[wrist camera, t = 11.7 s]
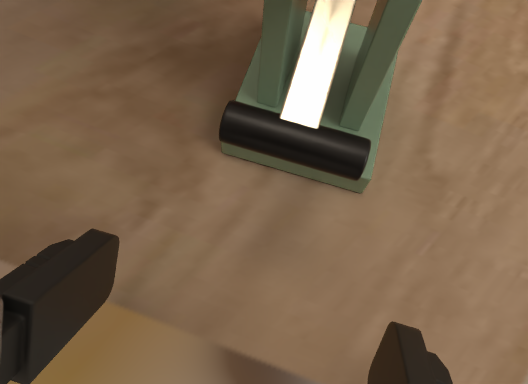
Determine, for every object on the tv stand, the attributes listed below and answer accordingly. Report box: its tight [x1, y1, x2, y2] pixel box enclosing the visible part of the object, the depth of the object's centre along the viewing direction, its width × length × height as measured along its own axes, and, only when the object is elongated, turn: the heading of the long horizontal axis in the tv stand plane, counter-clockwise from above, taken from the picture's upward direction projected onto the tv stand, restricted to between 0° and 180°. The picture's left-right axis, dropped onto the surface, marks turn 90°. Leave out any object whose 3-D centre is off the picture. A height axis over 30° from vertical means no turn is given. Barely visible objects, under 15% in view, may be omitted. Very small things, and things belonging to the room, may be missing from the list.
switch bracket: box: [221, 0, 422, 193], centre depth 17 cm, size 9×7×12 cm
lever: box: [219, 0, 371, 181], centre depth 12 cm, size 10×4×2 cm, turn 163°
